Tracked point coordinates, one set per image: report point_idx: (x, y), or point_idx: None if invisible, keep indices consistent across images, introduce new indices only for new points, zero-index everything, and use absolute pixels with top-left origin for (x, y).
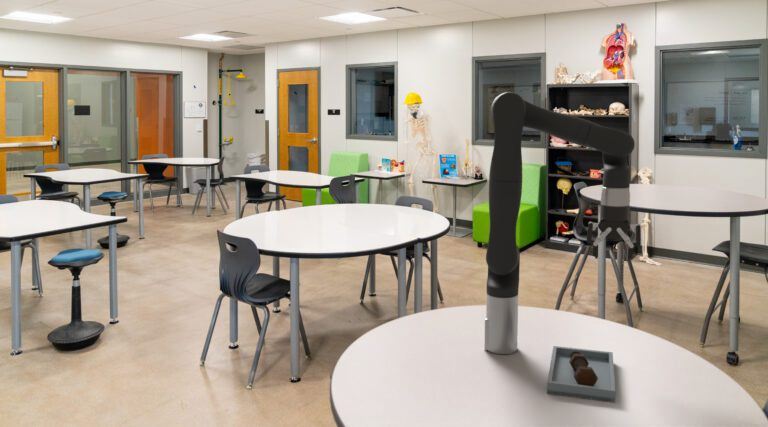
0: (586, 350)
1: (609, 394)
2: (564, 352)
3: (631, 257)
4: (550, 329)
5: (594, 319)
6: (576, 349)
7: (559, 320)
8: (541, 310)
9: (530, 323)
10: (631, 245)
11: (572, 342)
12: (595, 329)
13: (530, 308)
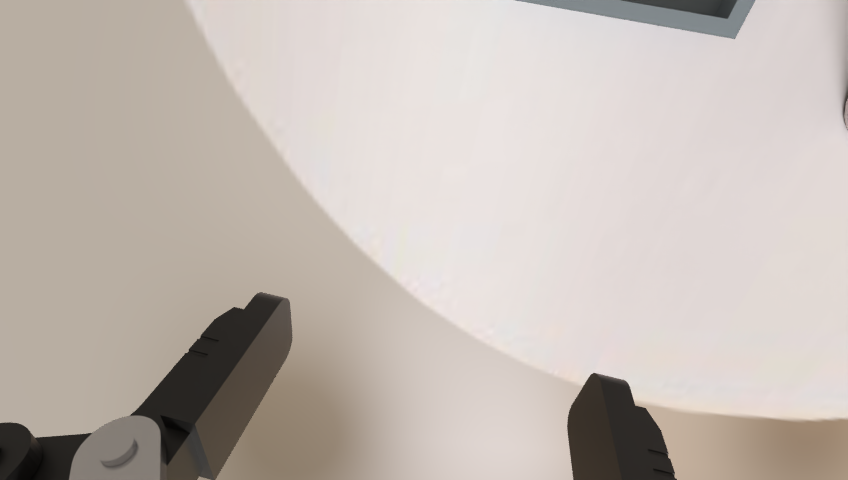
0: (599, 1)
1: None
2: (686, 11)
3: (230, 320)
4: (622, 264)
5: (465, 324)
6: (641, 7)
7: (567, 321)
8: None
9: (671, 305)
10: (106, 455)
11: (584, 168)
12: (479, 264)
13: None
